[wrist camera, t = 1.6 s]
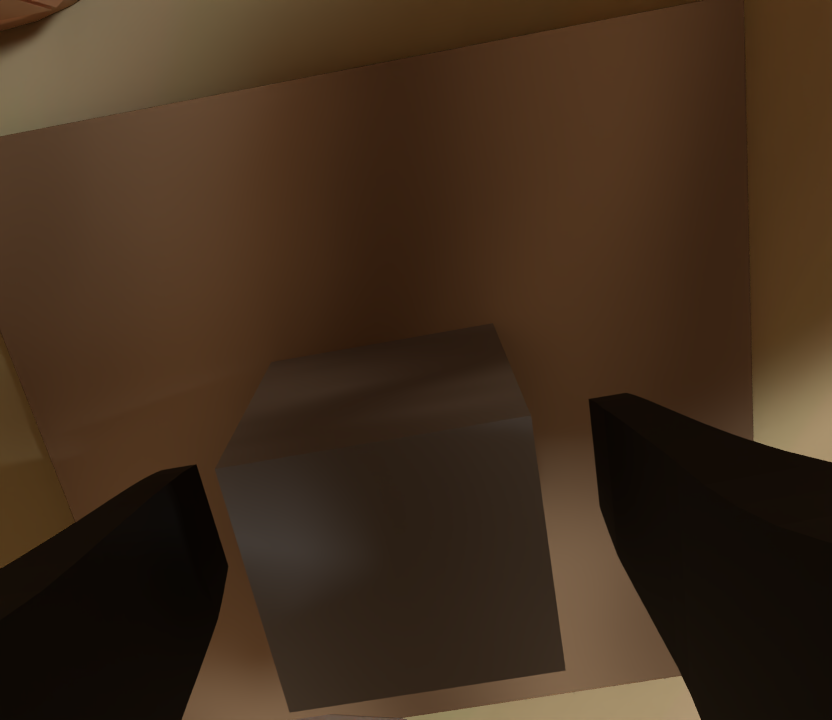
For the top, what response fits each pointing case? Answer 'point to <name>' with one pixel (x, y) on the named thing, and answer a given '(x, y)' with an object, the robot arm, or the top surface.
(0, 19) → the pot
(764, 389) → the top surface
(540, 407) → the lid
